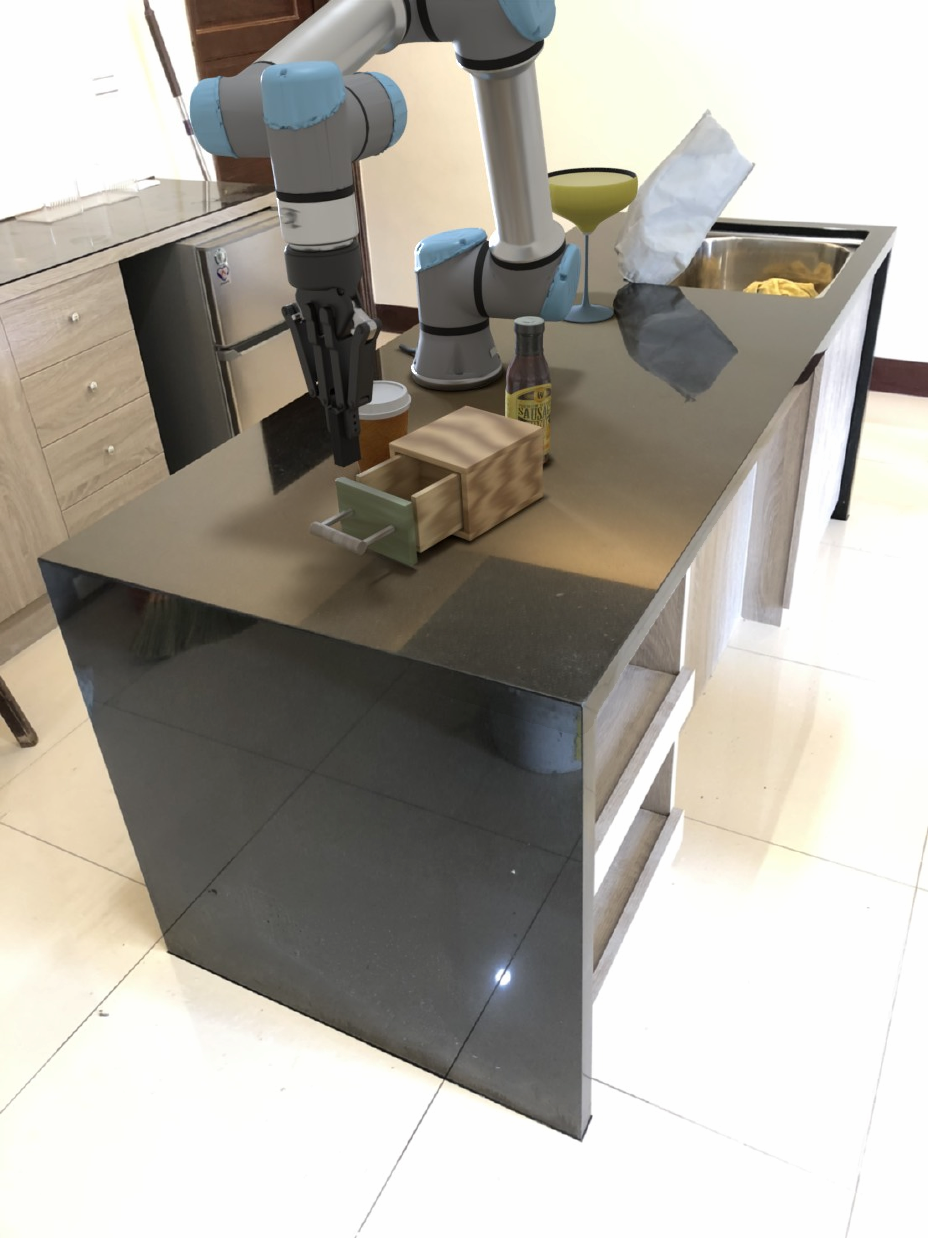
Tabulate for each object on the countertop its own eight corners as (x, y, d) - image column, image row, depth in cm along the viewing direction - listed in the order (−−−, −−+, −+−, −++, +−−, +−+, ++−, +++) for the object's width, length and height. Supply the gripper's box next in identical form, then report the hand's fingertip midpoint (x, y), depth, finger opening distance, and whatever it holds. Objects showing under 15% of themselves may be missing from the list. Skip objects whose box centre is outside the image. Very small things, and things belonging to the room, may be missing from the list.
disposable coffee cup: (391, 494, 135) (383, 410, 129) (335, 480, 140) (324, 398, 133) (430, 467, 142) (424, 385, 135) (376, 454, 146) (367, 375, 140)
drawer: (372, 589, 114) (364, 528, 109) (304, 559, 120) (294, 499, 116) (485, 521, 126) (482, 463, 121) (418, 496, 132) (413, 441, 128)
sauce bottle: (519, 474, 138) (516, 331, 127) (497, 458, 143) (492, 319, 132) (560, 463, 141) (560, 321, 130) (536, 447, 146) (535, 310, 134)
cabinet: (470, 541, 124) (465, 468, 118) (395, 512, 131) (388, 443, 125) (543, 496, 133) (542, 426, 127) (469, 472, 140) (466, 405, 134)
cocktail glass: (569, 296, 207) (570, 164, 193) (648, 307, 197) (655, 170, 183) (521, 320, 195) (518, 182, 181) (603, 334, 185) (607, 189, 172)
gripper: (249, 241, 100) (284, 459, 113) (338, 258, 93) (364, 489, 106) (305, 226, 105) (333, 437, 118) (394, 241, 98) (413, 464, 111)
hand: (347, 461), depth 112 cm, fingers closed
